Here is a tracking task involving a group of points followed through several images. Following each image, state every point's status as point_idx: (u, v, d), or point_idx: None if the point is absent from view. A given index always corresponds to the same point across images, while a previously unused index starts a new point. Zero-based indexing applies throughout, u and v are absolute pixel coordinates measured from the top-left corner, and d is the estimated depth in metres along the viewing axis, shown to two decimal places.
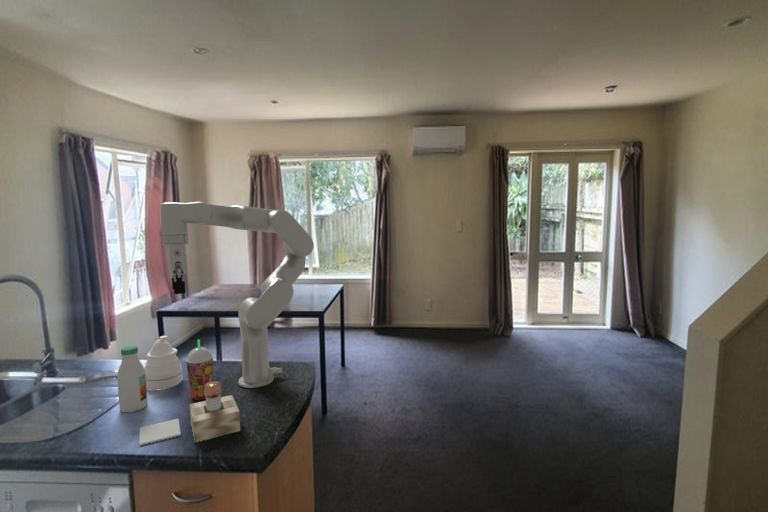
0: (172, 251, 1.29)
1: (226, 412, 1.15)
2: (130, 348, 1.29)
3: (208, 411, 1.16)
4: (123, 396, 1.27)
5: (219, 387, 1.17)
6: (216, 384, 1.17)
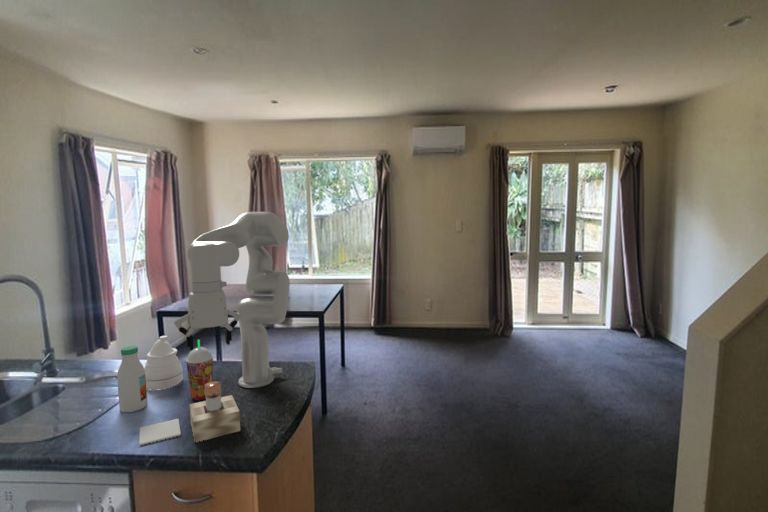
0: None
1: (226, 412, 1.15)
2: (130, 348, 1.29)
3: (208, 411, 1.16)
4: (123, 396, 1.27)
5: (219, 387, 1.17)
6: (216, 384, 1.17)
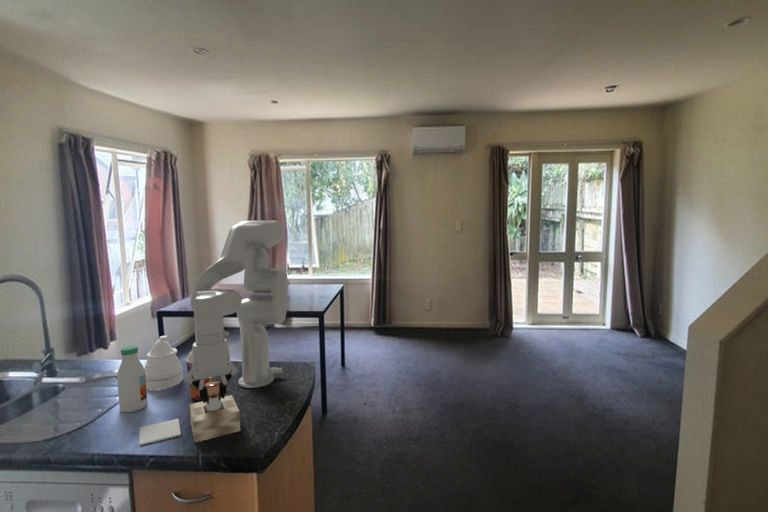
0: None
1: (226, 412, 1.15)
2: (130, 348, 1.29)
3: (208, 411, 1.16)
4: (123, 396, 1.27)
5: (219, 387, 1.17)
6: (216, 384, 1.17)
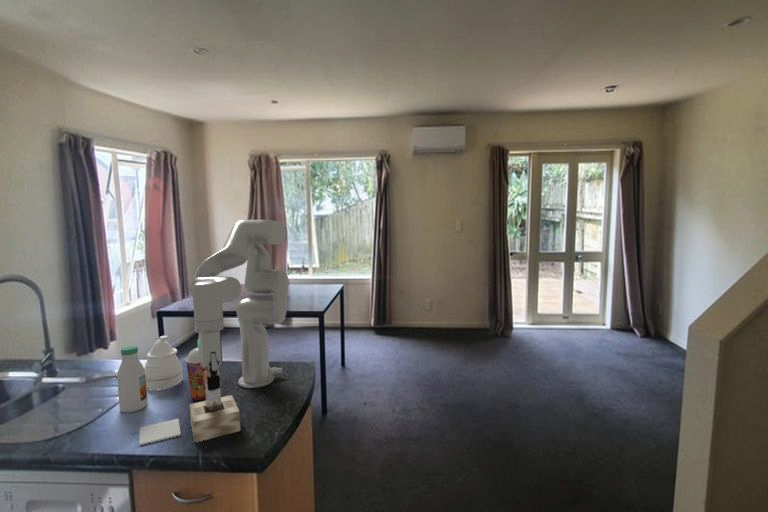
0: None
1: (226, 412, 1.15)
2: (130, 348, 1.29)
3: (218, 396, 1.17)
4: (123, 396, 1.27)
5: None
6: None
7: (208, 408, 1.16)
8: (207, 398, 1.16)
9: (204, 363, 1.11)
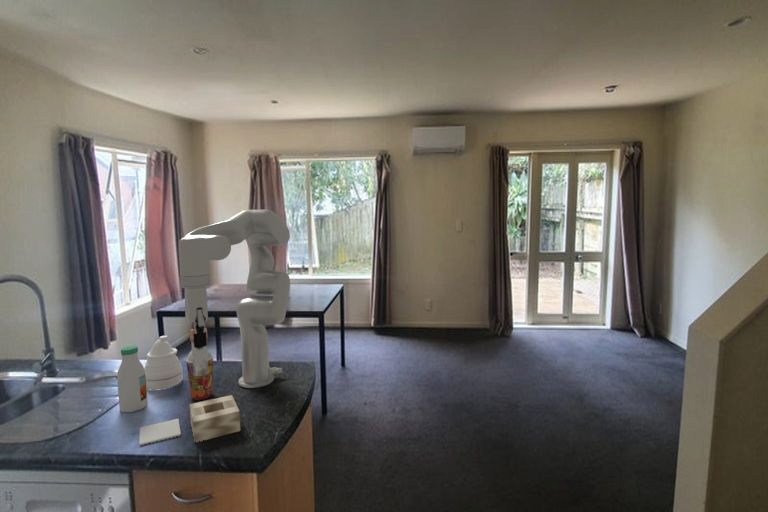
0: None
1: (226, 412, 1.15)
2: (130, 348, 1.29)
3: (205, 355, 1.15)
4: (123, 396, 1.27)
5: None
6: None
7: (194, 367, 1.14)
8: (193, 356, 1.14)
9: (190, 319, 1.09)
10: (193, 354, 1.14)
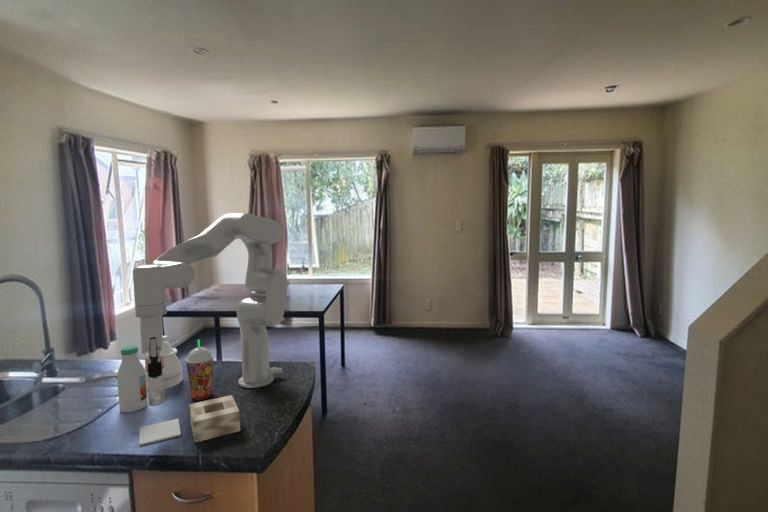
0: None
1: (226, 412, 1.15)
2: (130, 348, 1.29)
3: (160, 384, 1.13)
4: (123, 396, 1.27)
5: None
6: None
7: (149, 396, 1.13)
8: (148, 385, 1.12)
9: (143, 349, 1.08)
10: (148, 383, 1.12)
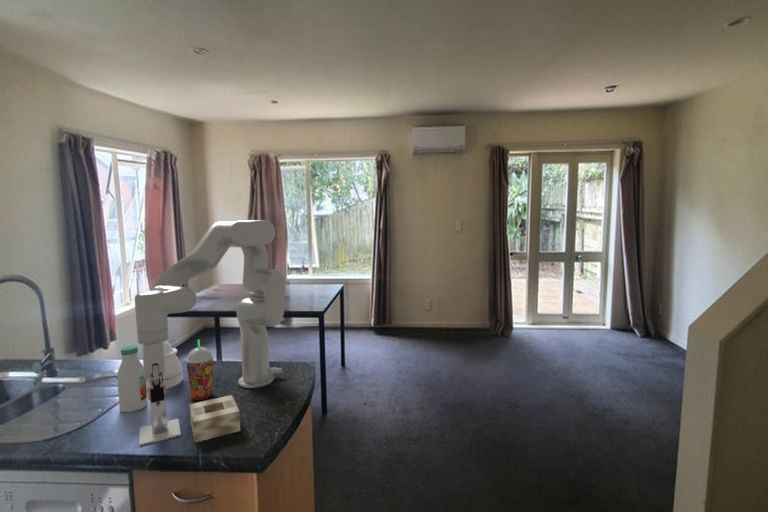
0: None
1: (226, 412, 1.15)
2: (130, 348, 1.29)
3: (163, 412, 1.14)
4: (123, 396, 1.27)
5: None
6: None
7: (153, 424, 1.14)
8: (151, 414, 1.13)
9: (146, 375, 1.08)
10: (151, 412, 1.13)
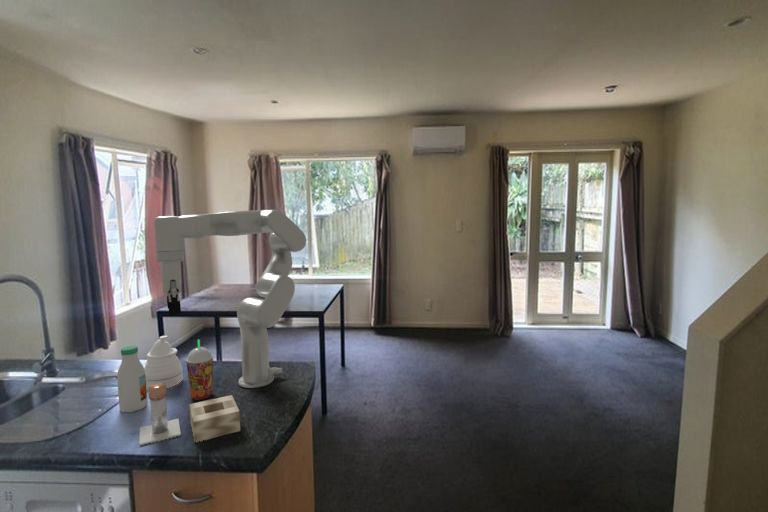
0: None
1: (226, 412, 1.15)
2: (130, 348, 1.29)
3: (163, 412, 1.15)
4: (123, 396, 1.27)
5: None
6: (160, 384, 1.16)
7: (153, 424, 1.14)
8: (151, 413, 1.14)
9: (164, 290, 1.20)
10: (151, 411, 1.14)
